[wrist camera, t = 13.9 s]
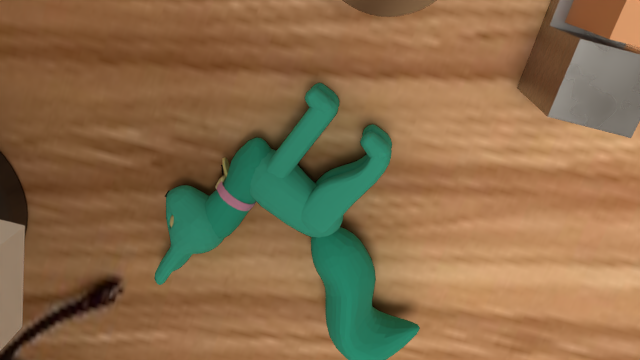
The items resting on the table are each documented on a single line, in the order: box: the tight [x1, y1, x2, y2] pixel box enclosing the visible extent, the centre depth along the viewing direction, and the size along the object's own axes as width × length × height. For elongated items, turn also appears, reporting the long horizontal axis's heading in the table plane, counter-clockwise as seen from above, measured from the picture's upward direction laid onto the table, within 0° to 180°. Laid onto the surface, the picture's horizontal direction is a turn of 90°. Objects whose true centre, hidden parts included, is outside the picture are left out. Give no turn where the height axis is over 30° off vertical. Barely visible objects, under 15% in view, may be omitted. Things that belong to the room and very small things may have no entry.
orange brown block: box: [565, 0, 640, 47], centre depth 31 cm, size 4×4×7 cm
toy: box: [155, 83, 420, 360], centre depth 42 cm, size 7×22×20 cm
